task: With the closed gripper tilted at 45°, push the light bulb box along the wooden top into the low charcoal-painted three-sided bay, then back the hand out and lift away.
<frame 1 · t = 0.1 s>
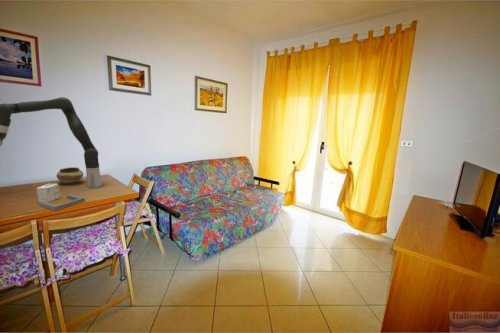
ceramic bowl: (71, 183, 191), on the table
light bulb box: (49, 200, 153), on the table
charcoal bay: (62, 203, 149), on the table
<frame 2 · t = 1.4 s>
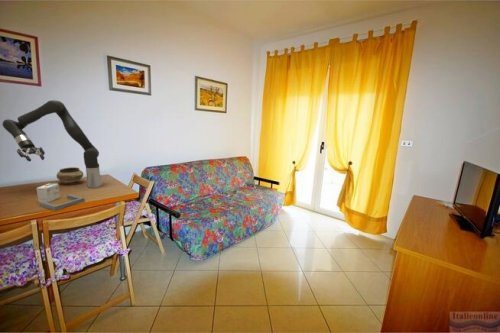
hand: (36, 160, 156), 26 cm above the table, tool tilted 45°, fingers open, 7 cm apart
nothing on the table moved.
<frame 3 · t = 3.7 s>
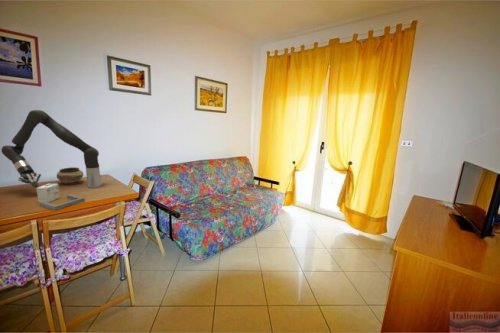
hand: (36, 186, 156), 8 cm above the table, tool tilted 45°, fingers closed
nothing on the table moved.
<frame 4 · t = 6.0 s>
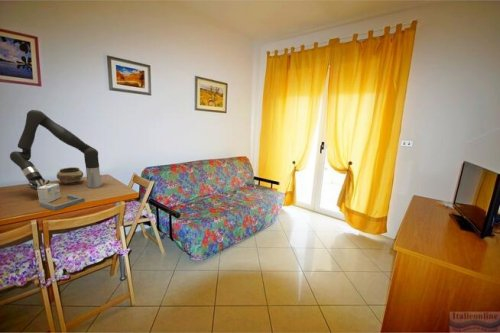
hand: (45, 193, 153), 4 cm above the table, tool tilted 45°, fingers closed
light bulb box: (50, 200, 153), on the table, touching gripper
everything else where it was.
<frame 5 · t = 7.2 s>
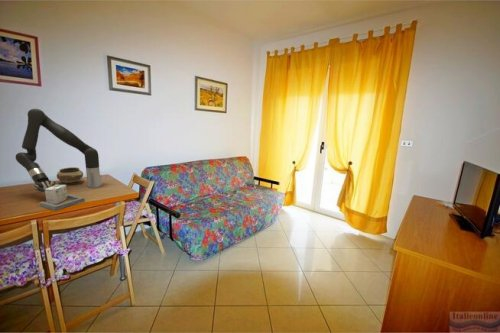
hand: (51, 194, 151), 4 cm above the table, tool tilted 45°, fingers closed
light bulb box: (57, 201, 151), on the table, touching gripper
everything else where it was.
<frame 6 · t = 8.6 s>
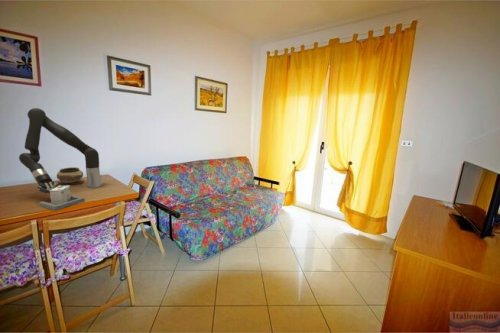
hand: (54, 196, 149), 4 cm above the table, tool tilted 45°, fingers closed
light bulb box: (61, 202, 150), on the table, touching charcoal bay, gripper
everything else where it was.
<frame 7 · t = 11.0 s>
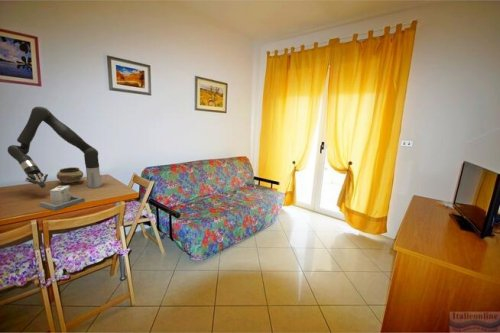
hand: (43, 186, 153), 9 cm above the table, tool tilted 45°, fingers closed
light bulb box: (61, 202, 150), on the table
everything else where it was.
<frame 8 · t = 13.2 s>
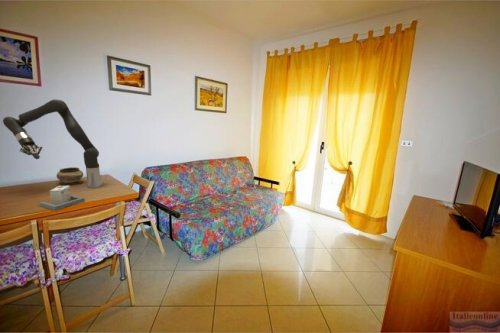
hand: (38, 158, 155), 28 cm above the table, tool tilted 45°, fingers closed
nothing on the table moved.
at the end: light bulb box inside the target area (2.9 cm from its centre), on the table; light bulb box tilted 0° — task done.
